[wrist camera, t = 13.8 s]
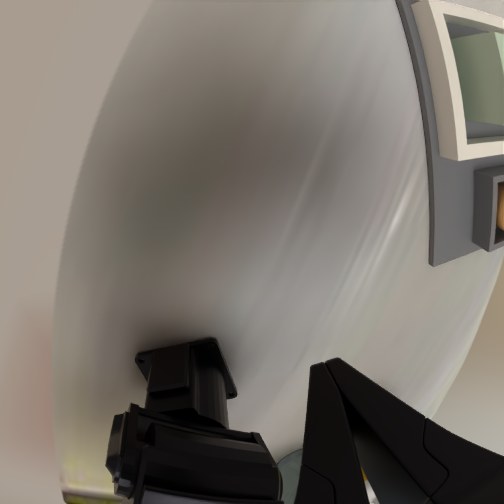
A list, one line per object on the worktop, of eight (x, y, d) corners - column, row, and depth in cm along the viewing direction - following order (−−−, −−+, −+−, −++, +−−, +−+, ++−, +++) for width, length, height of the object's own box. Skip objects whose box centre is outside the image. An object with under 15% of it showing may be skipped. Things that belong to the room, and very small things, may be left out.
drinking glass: (273, 484, 33) (289, 558, 22) (264, 452, 29) (283, 546, 18) (346, 465, 34) (373, 535, 23) (353, 429, 30) (389, 515, 19)
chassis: (512, 231, 22) (531, 242, 20) (428, 263, 22) (449, 279, 19) (494, 21, 14) (516, 18, 12) (395, -1, 14) (418, -12, 11)
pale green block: (494, 118, 17) (549, 127, 12) (459, 119, 17) (519, 128, 12) (482, 46, 15) (537, 42, 9) (445, 40, 15) (503, 30, 9)
